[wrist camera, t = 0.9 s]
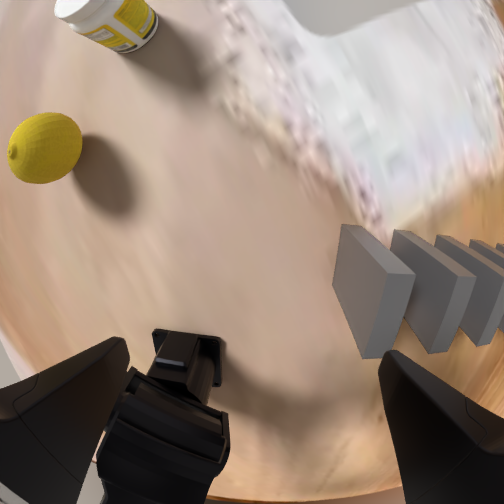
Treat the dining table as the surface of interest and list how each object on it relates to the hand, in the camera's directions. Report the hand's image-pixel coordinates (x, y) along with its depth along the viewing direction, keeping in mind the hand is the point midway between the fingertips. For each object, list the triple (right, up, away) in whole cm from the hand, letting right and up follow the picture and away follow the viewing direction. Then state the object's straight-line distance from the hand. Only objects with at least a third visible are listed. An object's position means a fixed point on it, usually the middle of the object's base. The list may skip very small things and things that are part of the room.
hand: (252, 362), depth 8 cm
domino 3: (+16, +3, +12) cm, 20 cm away
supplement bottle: (-10, +22, +7) cm, 25 cm away
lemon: (-15, +13, +11) cm, 22 cm away
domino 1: (+7, +3, +12) cm, 15 cm away
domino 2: (+12, +3, +12) cm, 17 cm away
